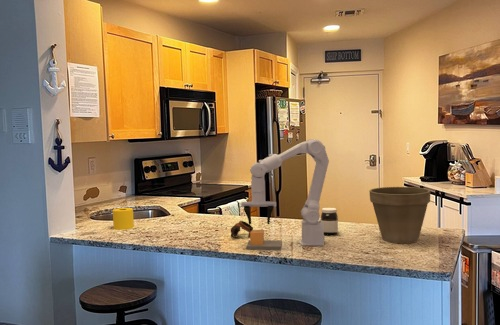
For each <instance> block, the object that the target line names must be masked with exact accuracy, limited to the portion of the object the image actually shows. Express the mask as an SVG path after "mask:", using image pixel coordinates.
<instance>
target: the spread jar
mask: <svg viewBox="0 0 500 325" xmlns="http://www.w3.org/2000/svg"><path fill="white" fill-rule="evenodd" d="M337 210H338V209H337V208H336V207H323V208H321V214H320V218H319V220H318V221H319V223H323V225H324V236H328V237H329V236H330V237H331V236H336V235H338V233H339V227H338V226H339V218H338V213H337Z"/></svg>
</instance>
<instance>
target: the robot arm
mask: <svg viewBox="0 0 500 325" xmlns="http://www.w3.org/2000/svg"><path fill="white" fill-rule="evenodd" d="M299 154H308V155H309V156H311V158H312V159H313V161H314V162H315V166H314V170H313V174H312V179H311V182H310V187H309V192H308V195H307V196H308V197H307V199H306V201H305V202H304V205H303V207H302V208H301V210H300V216H301V217H302V218H303V219H302V220H301V240H300V245H301V246H315V247H316V246H318V247H319V246H322V247H323V246H325V242H324V241H325V235H324V225H323V223H319V221H318V220H319V218H321V214H320V200H321V195H322V192H323V187H324V184H325V179H326V176H327V175H326V174H327V171H328V166H329V163H330V159H329V157H328V153H327V151H326V146H325V145H324V144H323V142H322V141H321V140H318V139H314V138H313V139H312V138H309V139H307V140H305V141H302V142H300V143H298V144H296V145H294V146H292V147H290V148H288V149H287V150H285V151H283V152H281V153H279V154H276V153H273V154H272V153H270V154H268V156H267V157H265V158H264V159H259V160H258V162H254V163H253V164H252V165H251V166H250V169H249V171H250V173H251V177H250V178H251V181H250V182H251V183H250V184H251V185H250V186H251V187H250V188H251V189H250V190H251V201H241V206H240V207H241V208H243V211H244V213H245V215H246V217H247V222H248V224H249V225H251V224H252V215H251V214H252V213H251V211H252V208H254V207H255V208H258V207H259V208H260V207H261V208H262V207H263V208H264V207H266V213H267V215H266V216H267V219H266V224H267V225H270V221H271V215H272V213H273V210H274V208H276V207H277V201H271V200H270V201H269V200H267V201H266V179H265V175H266V173H267V174H268V173H269V172H271V171H273V170H275V169H277V168H280V167H281V166H282V163H283V162H284V161H286V160H288V159H291V158H293V157H295V156H298V155H299Z"/></svg>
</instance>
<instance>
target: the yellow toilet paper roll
mask: <svg viewBox="0 0 500 325" xmlns="http://www.w3.org/2000/svg"><path fill="white" fill-rule="evenodd" d="M134 221H135V220H134V209H133V208H132V207H119V208H115V209H112V224H113V230H117V231H124V230H125V231H126V230H130V229H133V228H135V226H134V225H135V224H134Z"/></svg>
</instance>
